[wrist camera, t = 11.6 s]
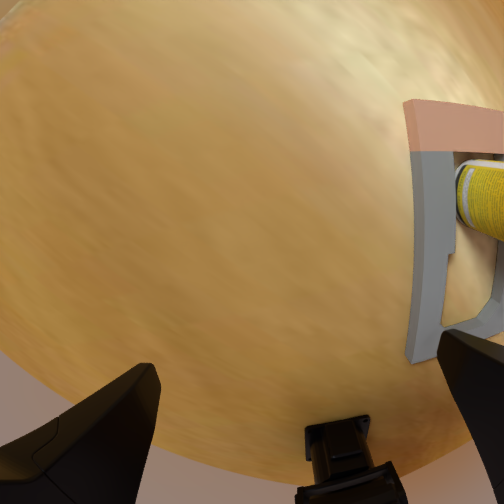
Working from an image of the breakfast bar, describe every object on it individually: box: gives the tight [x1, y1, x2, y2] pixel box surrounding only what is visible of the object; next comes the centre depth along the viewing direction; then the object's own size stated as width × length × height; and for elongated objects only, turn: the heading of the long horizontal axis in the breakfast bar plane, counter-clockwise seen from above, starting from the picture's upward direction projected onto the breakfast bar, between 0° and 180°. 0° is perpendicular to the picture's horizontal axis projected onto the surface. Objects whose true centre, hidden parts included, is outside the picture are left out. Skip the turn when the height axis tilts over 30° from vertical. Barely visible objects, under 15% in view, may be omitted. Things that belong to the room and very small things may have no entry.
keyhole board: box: [403, 99, 504, 364], centre depth 18 cm, size 20×12×2 cm, turn 8°
